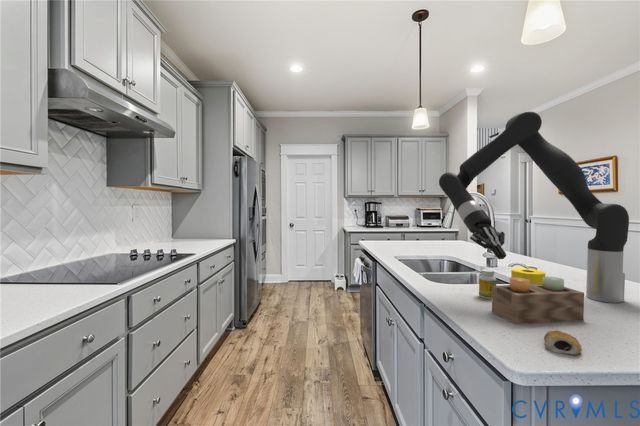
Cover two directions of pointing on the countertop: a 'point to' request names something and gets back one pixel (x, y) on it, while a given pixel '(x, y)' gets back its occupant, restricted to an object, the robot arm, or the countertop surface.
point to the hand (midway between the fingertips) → (503, 257)
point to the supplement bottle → (486, 283)
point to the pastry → (562, 343)
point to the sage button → (553, 283)
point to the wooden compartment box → (538, 304)
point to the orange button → (520, 284)
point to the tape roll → (528, 275)
